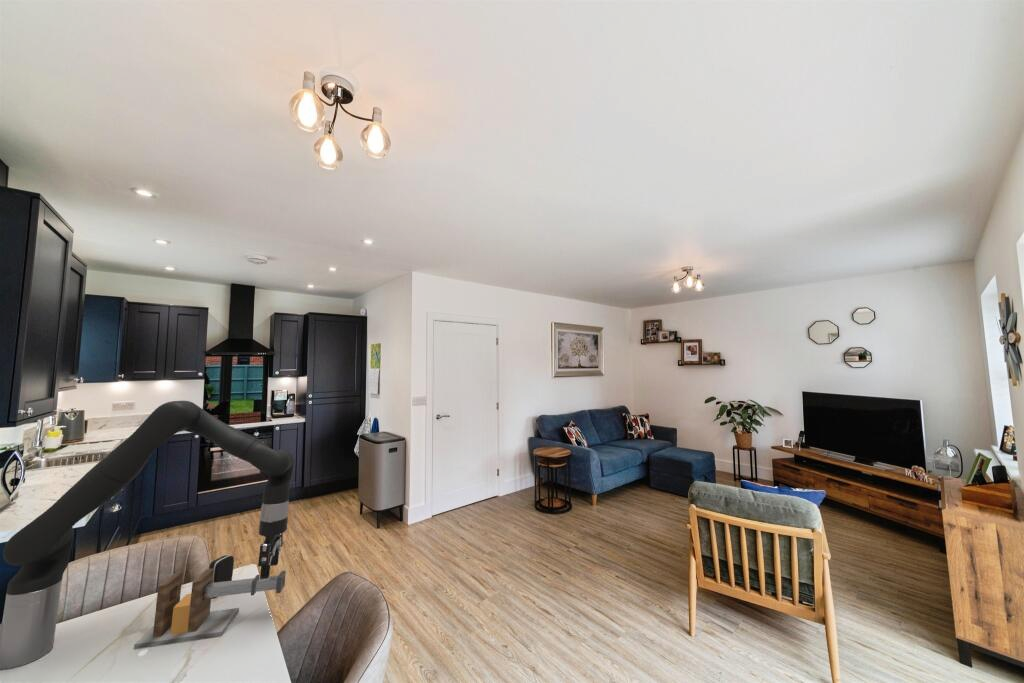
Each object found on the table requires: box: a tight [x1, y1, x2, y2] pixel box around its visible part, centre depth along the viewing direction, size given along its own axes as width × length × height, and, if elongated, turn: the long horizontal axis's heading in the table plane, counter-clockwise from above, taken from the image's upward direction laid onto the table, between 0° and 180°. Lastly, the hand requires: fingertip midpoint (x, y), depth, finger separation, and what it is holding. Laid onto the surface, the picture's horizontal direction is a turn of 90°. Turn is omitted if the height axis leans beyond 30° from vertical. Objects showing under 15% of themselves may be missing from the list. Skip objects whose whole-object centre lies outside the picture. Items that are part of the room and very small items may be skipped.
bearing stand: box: [133, 568, 240, 650], centre depth 110 cm, size 20×12×14 cm, turn 106°
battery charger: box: [208, 554, 235, 599], centre depth 129 cm, size 7×4×11 cm, turn 171°
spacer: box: [171, 593, 191, 634], centre depth 110 cm, size 4×7×7 cm, turn 17°
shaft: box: [202, 570, 287, 599], centre depth 114 cm, size 21×4×4 cm, turn 106°
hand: (269, 571), depth 116 cm, fingers open, 8 cm apart
